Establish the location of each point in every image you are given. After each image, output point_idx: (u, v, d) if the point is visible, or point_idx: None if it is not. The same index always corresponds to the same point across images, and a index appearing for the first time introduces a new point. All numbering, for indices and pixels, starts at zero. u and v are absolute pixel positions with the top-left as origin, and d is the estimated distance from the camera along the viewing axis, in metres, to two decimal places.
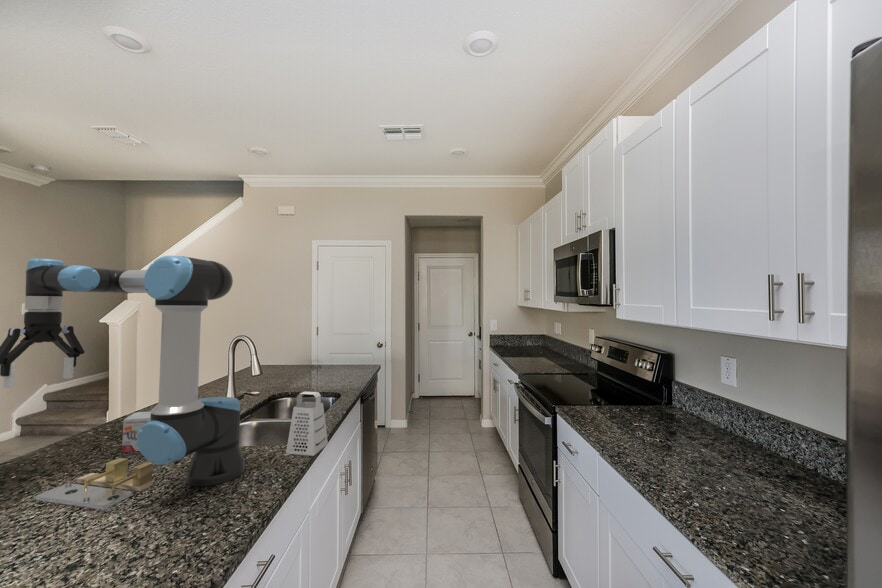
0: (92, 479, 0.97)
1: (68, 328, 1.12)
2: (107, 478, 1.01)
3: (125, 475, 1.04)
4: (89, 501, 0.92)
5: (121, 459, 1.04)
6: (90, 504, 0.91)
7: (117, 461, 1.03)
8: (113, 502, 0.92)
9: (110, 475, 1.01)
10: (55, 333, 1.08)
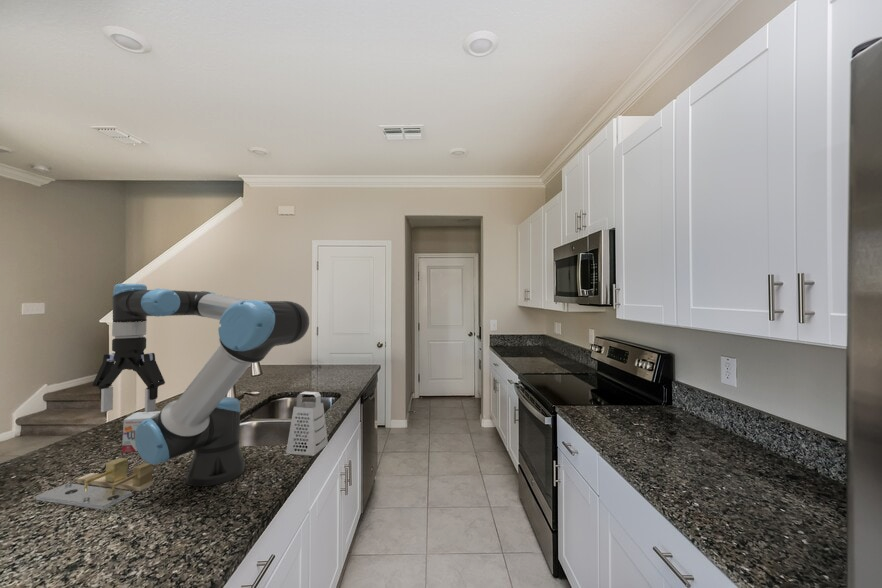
0: (92, 479, 0.97)
1: None
2: (107, 478, 1.01)
3: (125, 475, 1.04)
4: (89, 501, 0.92)
5: (121, 459, 1.04)
6: (90, 504, 0.91)
7: (117, 461, 1.03)
8: (113, 502, 0.92)
9: (110, 475, 1.01)
10: (128, 361, 1.02)
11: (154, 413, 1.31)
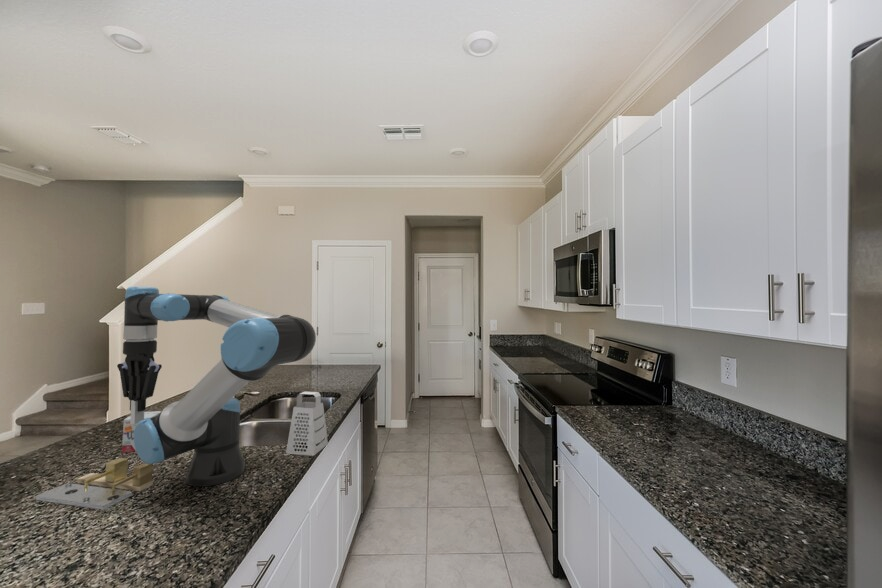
0: (92, 479, 0.97)
1: None
2: (107, 478, 1.01)
3: (125, 475, 1.04)
4: (89, 501, 0.92)
5: (121, 459, 1.04)
6: (90, 504, 0.91)
7: (117, 461, 1.03)
8: (113, 502, 0.92)
9: (110, 475, 1.01)
10: (137, 365, 1.01)
11: (154, 413, 1.31)
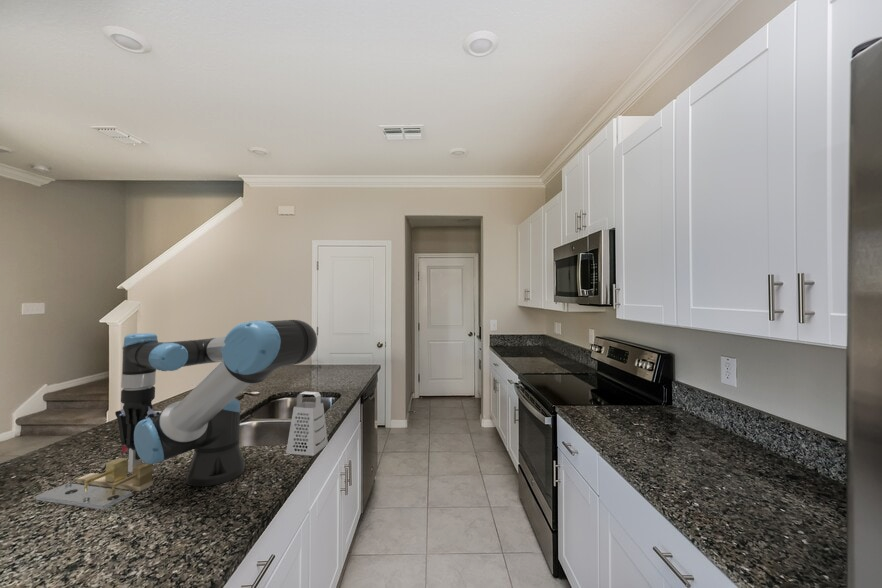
0: (92, 479, 0.97)
1: None
2: (107, 478, 1.01)
3: (125, 475, 1.04)
4: (89, 501, 0.92)
5: (121, 459, 1.04)
6: (90, 504, 0.91)
7: (117, 461, 1.03)
8: (113, 502, 0.92)
9: (110, 475, 1.01)
10: (135, 414, 1.01)
11: None
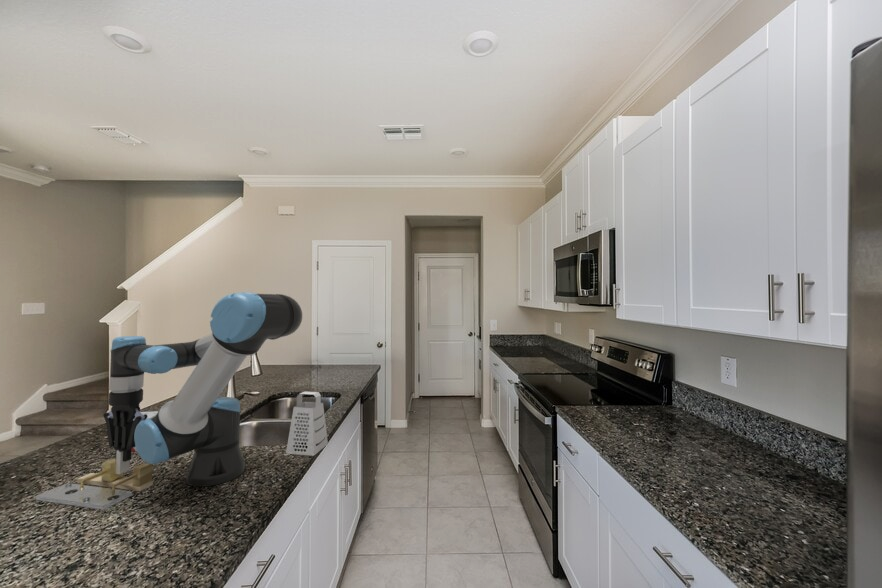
0: (88, 478, 0.97)
1: None
2: (103, 478, 1.01)
3: (121, 475, 1.04)
4: (89, 501, 0.92)
5: None
6: (90, 504, 0.91)
7: (113, 461, 1.03)
8: (113, 502, 0.92)
9: (106, 475, 1.01)
10: (122, 416, 1.02)
11: (154, 413, 1.31)
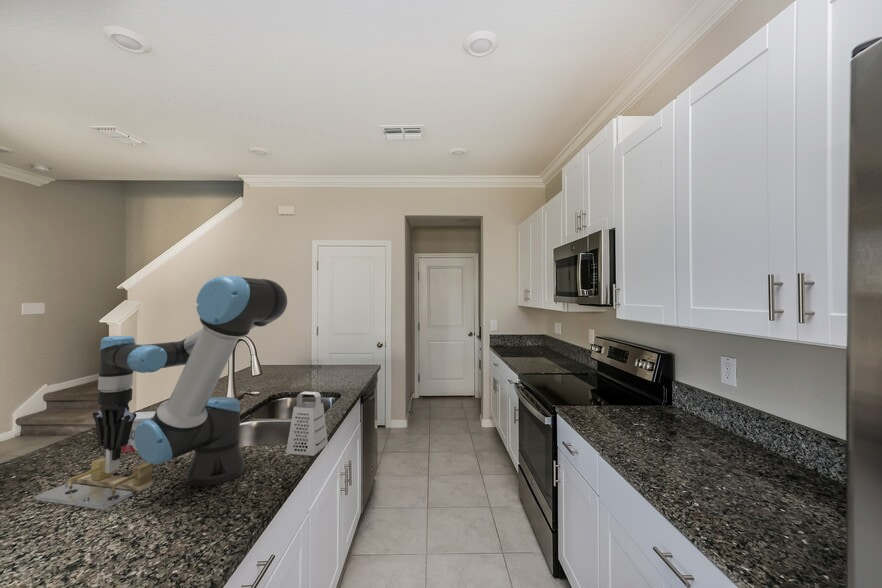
0: (77, 477, 0.98)
1: None
2: (92, 476, 1.02)
3: (111, 473, 1.05)
4: (89, 501, 0.92)
5: None
6: (90, 504, 0.91)
7: (103, 459, 1.04)
8: (113, 502, 0.92)
9: (95, 473, 1.02)
10: (111, 415, 1.03)
11: (154, 413, 1.31)
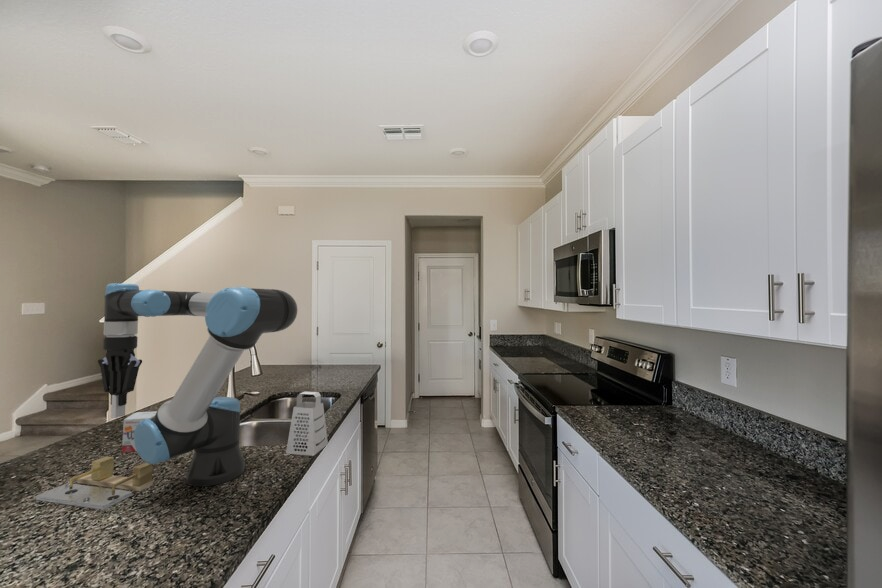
0: (77, 477, 0.98)
1: None
2: (93, 476, 1.02)
3: (111, 473, 1.05)
4: (89, 501, 0.92)
5: (107, 457, 1.05)
6: (90, 504, 0.91)
7: (103, 459, 1.04)
8: (113, 502, 0.92)
9: (96, 473, 1.02)
10: (117, 361, 1.04)
11: (154, 413, 1.31)
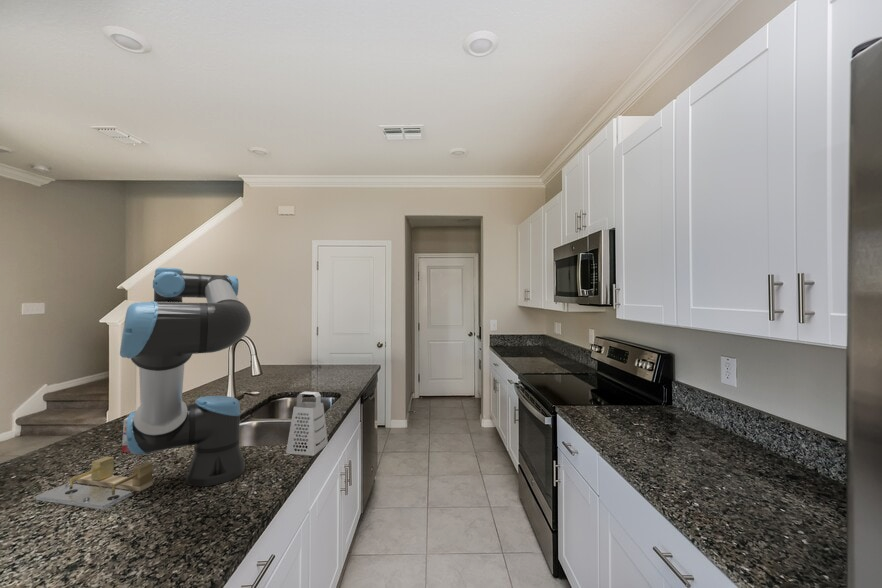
0: (77, 477, 0.98)
1: None
2: (93, 476, 1.02)
3: (111, 473, 1.05)
4: (89, 501, 0.92)
5: (107, 457, 1.05)
6: (90, 504, 0.91)
7: (103, 459, 1.04)
8: (113, 502, 0.92)
9: (96, 473, 1.02)
10: None
11: None
